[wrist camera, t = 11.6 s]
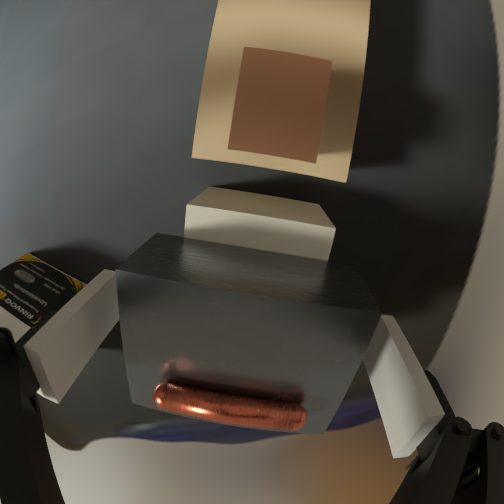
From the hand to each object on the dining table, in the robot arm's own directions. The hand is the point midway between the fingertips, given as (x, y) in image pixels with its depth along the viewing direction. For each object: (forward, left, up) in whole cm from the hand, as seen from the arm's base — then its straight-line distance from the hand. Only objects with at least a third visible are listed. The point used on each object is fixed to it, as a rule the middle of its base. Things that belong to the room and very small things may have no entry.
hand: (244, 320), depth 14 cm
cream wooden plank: (-17, 0, -5) cm, 18 cm away
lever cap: (0, 0, 0) cm, 0 cm away
